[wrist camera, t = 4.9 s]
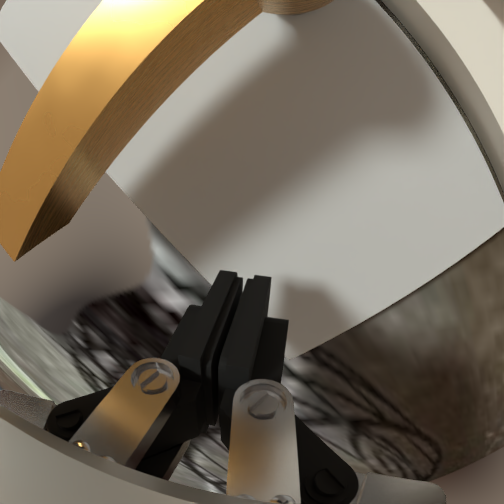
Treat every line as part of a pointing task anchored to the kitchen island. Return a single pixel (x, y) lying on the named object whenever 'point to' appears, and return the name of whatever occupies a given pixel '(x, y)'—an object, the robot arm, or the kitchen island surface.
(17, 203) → the latch bar
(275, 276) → the door mock-up
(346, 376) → the kitchen island surface
